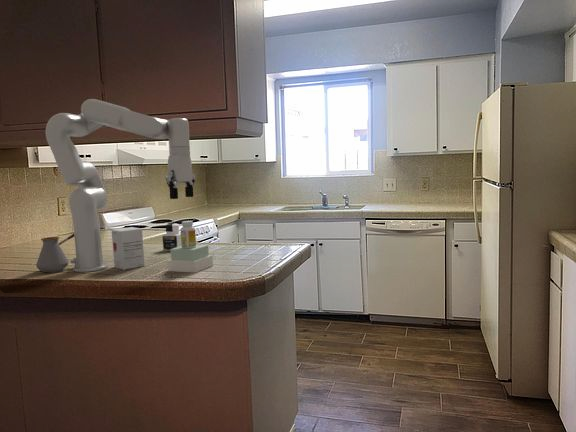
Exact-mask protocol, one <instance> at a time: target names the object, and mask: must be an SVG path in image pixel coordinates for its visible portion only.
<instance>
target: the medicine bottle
mask: <svg viewBox="0 0 576 432" xmlns="http://www.w3.org/2000/svg"><path fill="white" fill-rule="evenodd" d="M165 233H166V234H163V235H162V248H163V251H165V252H166V251H169V252H171V251H170V249H173V248H176V247H180V246H182V244H181V232H180V224H179V223H167V224H166V225H165Z"/></svg>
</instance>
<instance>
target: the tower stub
mask: <svg viewBox="0 0 576 432" xmlns="http://www.w3.org/2000/svg"><path fill="white" fill-rule="evenodd" d="M169 252H170V259H167V261H166V262H167V272H178V273H179V272H180V273H199V272H201V271H203V270H205V269H208V268H211V267H213V266H214V261H213V260H214V258H213V254H211V255H210V254H209V245H208V244H207V245H206V244H205V245H204V244H202V245H201V244H196V247H194V248H182V246H180V247H176V248H173V249H170V251H169Z"/></svg>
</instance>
